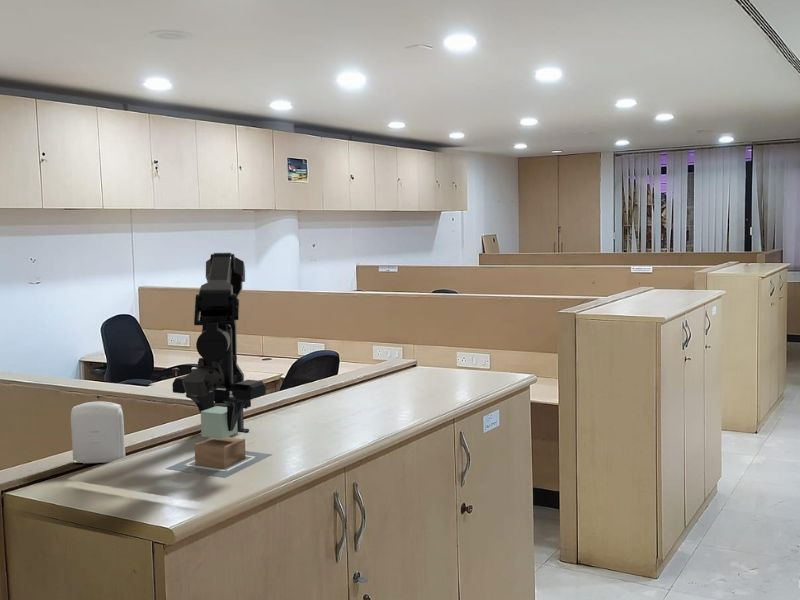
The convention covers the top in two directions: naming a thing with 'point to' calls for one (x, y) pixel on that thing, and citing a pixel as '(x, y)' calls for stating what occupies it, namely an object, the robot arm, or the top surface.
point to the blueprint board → (219, 472)
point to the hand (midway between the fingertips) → (219, 429)
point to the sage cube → (216, 423)
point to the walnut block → (220, 452)
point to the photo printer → (97, 432)
